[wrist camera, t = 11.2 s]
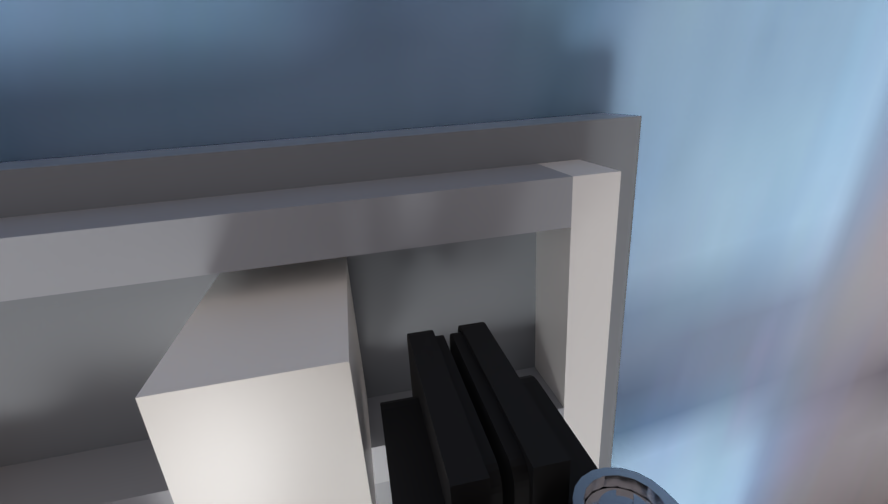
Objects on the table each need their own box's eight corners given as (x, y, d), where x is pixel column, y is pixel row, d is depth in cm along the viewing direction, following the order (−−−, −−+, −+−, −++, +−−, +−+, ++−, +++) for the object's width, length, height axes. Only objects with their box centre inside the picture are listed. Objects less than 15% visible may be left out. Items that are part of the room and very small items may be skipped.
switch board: (601, 112, 14) (695, 119, 10) (579, 495, 19) (635, 589, 16) (-294, 186, 10) (-664, 240, 6) (-2, 638, 16) (-109, 809, 12)
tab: (346, 256, 11) (349, 361, 7) (367, 399, 13) (380, 559, 8) (220, 272, 11) (135, 398, 6) (257, 419, 12) (211, 602, 8)
